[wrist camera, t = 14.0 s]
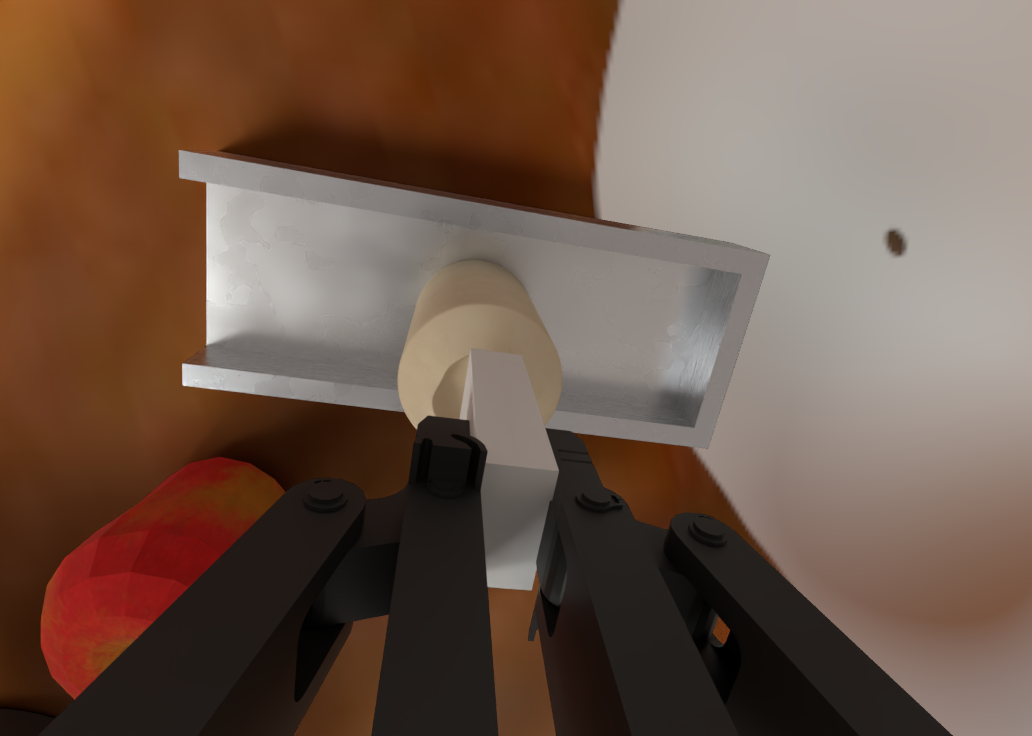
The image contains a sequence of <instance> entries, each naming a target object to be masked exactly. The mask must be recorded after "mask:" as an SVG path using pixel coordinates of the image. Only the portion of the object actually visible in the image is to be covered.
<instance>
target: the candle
mask: <svg viewBox="0 0 1032 736" xmlns="http://www.w3.org/2000/svg"><path fill="white" fill-rule="evenodd" d="M471 348H475V349H482V350H489V351H496V352H503V353H510V354H518V355H522V357H523V360H524V363H525V367H526V370H527V373H528V376H529V379H530V382H531V385H532V388H533V391H534V395H535V398H536V401H537V404H538V407H539V410H540V413H541V416H542V420H543V423H544V426H545V425H546V424H547V423H548V421H549V420H550V418H551V417H552V415H553V413H554V411H555V410H556V407H557V404H558V402H559V399H560V395H561V391H562V381H563V380H562V367H561V361H560V358H559V355H558V352H557V350H556V348H555V346H554V344H553V342H552V340H551V338H550V336H549V334H548V332H547V330H546V328H545V326H544V324H543V322H542V320H541V318H540V316H539V314H538V312H537V310H536V308H535V306H534V304H533V302H532V300H531V298H530V296H529V295H528V293H527V291H526V289H525V288H524V286H523V285H522V283H521V282H520V281H519V280H518V279H517V278H516V277H515V276H514V275H513V274H512V273H511V272H509V271H508V270H506V269H505V268H503V267H501V266H499V265H497V264H494V263H491V262H486V261H481V260H468V261H462V262H457V263H454V264H452V265H449V266H447V267H445V268H443V269H442V270H440V271H439V272H438V273H436V274H435V275H434V276H433V277H432V278H431V279H430V280H429V281H428V282H427V284H426V285H425V287H424V288H423V290H422V292H421V294H420V296H419V298H418V301H417V304H416V307H415V311H414V314H413V318H412V321H411V325H410V328H409V332H408V335H407V339H406V342H405V346H404V349H403V353H402V356H401V360H400V364H399V369H398V393H399V398H400V401H401V405H402V407H403V409H404V412H405V414H406V416H407V417H408V419H409V420H410V422H411V424H412V425H413V426H414V427H415V428H416V429H417V427H418V423H420V422H421V421H422V420H423V419H424V418H426V417H427V416H428V415H429V416H437V417H446V418H454V419H460V412H461V406H462V400H463V393H464V387H465V381H466V375H467V368H468V362H469V356H470V349H471Z"/></svg>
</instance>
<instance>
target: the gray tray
mask: <svg viewBox="0 0 1032 736" xmlns="http://www.w3.org/2000/svg"><path fill="white" fill-rule="evenodd" d="M179 178H183V179H189V180H194V181H200V182H206V183H207V345H206V346H205V347H204V348H202V349H201V350H200V351H198V352H197V353H196V354H194V355H193V356H192V357H190V358H189V359H188V360H186V361H185V362H184V363H182V382H183V386H192V387H200V388H208V389H217V390H225V391H233V392H241V393H250V394H258V395H266V396H275V397H283V398H291V399H300V400H308V401H316V402H324V403H333V404H341V405H349V406H358V407H366V408H374V409H382V410H391V411H399V412H404V409H403V407H402V405H401V401H400V398H399V393H398V369H399V364H400V360H401V356H402V353H403V349H404V346H405V342H406V339H407V335H408V332H409V328H410V325H411V321H412V318H413V314H414V311H415V307H416V304H417V301H418V298H419V296H420V294H421V292H422V290H423V288H424V287H425V285H426V284H427V282H428V281H429V280H430V279H431V278H432V277H433V276H434V275H435V274H436V273H438V272H439V271H440V270H442V269H443V268H445V267H447V266H449V265H452V264H454V263H457V262H462V261H468V260H481V261H486V262H491V263H494V264H497V265H499V266H501V267H503V268H505V269H506V270H508V271H509V272H511V273H512V274H513V275H514V276H515V277H516V278H517V279H518V280H519V281H520V282H521V283H522V285H523V286H524V288H525V289H526V291H527V293H528V295H529V296H530V298H531V300H532V302H533V304H534V306H535V308H536V310H537V312H538V314H539V316H540V318H541V320H542V322H543V324H544V326H545V328H546V330H547V332H548V334H549V336H550V338H551V340H552V342H553V344H554V346H555V348H556V350H557V352H558V355H559V358H560V361H561V367H562V380H563V381H562V391H561V395H560V399H559V402H558V404H557V407H556V410H555V411H554V413H553V415H552V417H551V418H550V420H549V421H548V423H547V424H546V425H545V428H550V429H558V430H566V431H572V432H573V433H582V434H590V435H598V436H606V437H615V438H623V439H631V440H640V441H648V442H656V443H665V444H673V445H681V446H689V447H698V448H707V449H708V447H709V443H710V441H711V437H712V434H713V431H714V428H715V425H716V422H717V418H718V416H719V413H720V410H721V407H722V403H723V400H724V397H725V394H726V391H727V388H728V385H729V381H730V379H731V375H732V372H733V369H734V366H735V363H736V360H737V357H738V354H739V351H740V348H741V344H742V341H743V338H744V335H745V332H746V329H747V326H748V323H749V320H750V317H751V313H752V310H753V307H754V304H755V301H756V298H757V295H758V292H759V289H760V286H761V282H762V279H763V276H764V273H765V270H766V267H767V264H768V260H769V257H770V255H769V254H766V253H762V252H759V251H756V250H753V249H749V248H747V247H743V246H740V245H736V244H734V243H729V242H724V241H718V240H713V239H707V238H702V237H695V236H690V235H684V234H679V233H674V232H668V231H662V230H657V229H651V228H645V227H640V226H634V225H629V224H623V223H618V222H612V221H606V220H601V219H595V218H590V217H584V216H579V215H573V214H568V213H562V212H556V211H551V210H545V209H540V208H534V207H528V206H523V205H517V204H512V203H506V202H501V201H495V200H489V199H484V198H478V197H473V196H467V195H461V194H456V193H450V192H445V191H439V190H434V189H428V188H422V187H417V186H411V185H406V184H400V183H394V182H389V181H383V180H378V179H372V178H367V177H361V176H355V175H350V174H344V173H339V172H333V171H327V170H322V169H316V168H311V167H305V166H300V165H294V164H288V163H283V162H277V161H272V160H266V159H260V158H255V157H249V156H244V155H238V154H233V153H227V152H221V151H202V150H179Z"/></svg>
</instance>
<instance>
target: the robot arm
mask: <svg viewBox="0 0 1032 736" xmlns="http://www.w3.org/2000/svg"><path fill="white" fill-rule="evenodd" d="M536 569H537V571H538V576H539V582H540V586H539V590H538V595H537V599H536V603H535V607H534V612H533V616H532V620H531V624H530V629H529V635H528V641H534V637H535V633H536V630H537V629H539V635H540V641H541V647H542V653H543V659H544V665H545V671H546V677H547V683H548V689H549V695H550V701H551V707H552V713H553V719H554V725H555V731H556V736H953V735H951V734H950V733H949V732H948V731H947V730H946V729H945V728H944V727H943V726H942V725H941V724H940V723H938V721H936V720H935V719H934V718H933V717H932V716H931V715H930V714H929V713H928V712H927V711H926V710H925V709H924V708H923V707H922V706H921V705H919V704H918V703H917V702H916V701H915V700H914V699H913V698H912V697H911V696H910V695H909V694H908V693H907V692H906V691H905V690H903V689H902V688H901V687H900V686H899V685H898V684H897V683H896V682H895V681H894V680H893V679H892V678H891V677H890V676H889V675H887V674H886V673H885V672H884V671H883V670H882V669H881V668H880V667H879V666H878V665H877V664H876V663H875V662H874V661H873V660H871V659H870V658H869V657H868V656H867V655H866V654H865V653H864V652H863V651H862V650H861V649H860V648H859V647H857V645H855V643H853V642H852V641H851V640H850V639H849V638H848V637H847V636H846V635H845V634H844V633H843V632H842V631H841V630H840V629H839V628H837V627H836V626H835V625H834V624H833V623H832V622H831V621H830V620H829V619H828V618H827V617H825V615H823V613H822V612H820V611H819V610H818V609H817V608H816V607H815V606H814V605H813V604H812V603H811V602H810V601H809V600H807V598H806V597H804V596H803V595H802V594H801V593H800V592H799V591H798V590H797V589H796V588H795V587H794V586H793V585H792V584H791V583H790V582H788V581H787V580H786V579H785V578H784V577H783V576H782V575H781V574H780V573H779V572H778V571H777V570H776V569H775V568H774V567H772V566H771V565H770V564H769V563H768V562H767V561H766V560H765V559H764V558H763V557H762V556H761V555H760V554H759V553H758V552H757V551H755V550H754V549H753V548H752V547H751V546H750V545H749V544H748V543H747V542H746V541H745V540H744V539H743V538H742V537H741V536H739V535H738V534H737V533H736V532H735V531H734V530H732V529H731V528H730V527H728V526H727V525H726V524H724V523H722V522H720V521H718V520H716V519H715V518H713V517H711V516H708V515H706V516H705V514H700V513H682V514H677V515H676V516H675V517H674V518H673V519H672V520H671V523H670V526H669V529H668V530H666V529H662V528H659V527H656V526H652V525H649V524H645V523H643V522H640V521H637V520H635V519H634V517H633V515H632V512H631V510H630V508H629V506H628V505H627V503H626V502H625V501H624V500H623V498H622V497H620V496H619V495H617V494H616V493H615V492H613V491H611V490H609V489H606V488H604V487H603V485H602V483H601V481H600V479H599V476H598V474H597V472H596V469H595V467H594V465H593V464H592V460H591V458H590V456H589V455H588V451H587V449H586V447H585V444H584V442H583V441H582V440H581V439H580V438H578V437H577V436H576V435H575V434H574V433H573V432H572V431H566V430H558V429H550V428H545V426H544V423H543V420H542V416H541V413H540V410H539V407H538V404H537V401H536V398H535V395H534V391H533V388H532V385H531V382H530V379H529V376H528V373H527V370H526V367H525V363H524V360H523V357H522V355H518V354H510V353H503V352H496V351H489V350H482V349H475V348H471V349H470V356H469V362H468V368H467V375H466V381H465V387H464V393H463V400H462V406H461V412H460V419H454V418H446V417H437V416H429V415H428V416H427V417H426V418H424V419H423V420H422V421H421V422H420V423H418V427H417V434H416V440H415V442H414V445H413V453H412V461H411V468H410V476H409V482H408V484H407V486H406V487H405V488H404V489H403V490H401V491H399V492H398V493H396V494H394V495H391V496H388V497H384V498H378V499H371V500H366V497H365V495H364V492H363V491H362V490H361V489H360V488H359V487H357V486H356V485H355V484H353V483H350V482H347V481H345V480H341V479H333V478H316V479H311V480H307V481H304V482H301V483H298V484H296V485H295V486H293V487H292V488H290V489H289V490H287V491H286V492H285V493H284V494H283V495H282V496H281V497H280V498H279V499H278V500H277V501H276V502H275V503H274V504H273V505H272V506H271V507H270V508H269V509H268V510H267V511H266V512H265V513H264V514H263V515H262V516H261V517H260V518H259V519H258V520H257V521H256V522H255V523H254V524H253V525H252V526H251V527H250V528H249V529H248V530H247V531H246V532H245V533H244V534H243V535H242V536H241V537H239V538H238V539H237V540H236V541H235V542H234V543H233V544H232V545H231V546H230V547H229V548H228V549H227V550H226V551H225V552H224V553H223V554H222V555H221V556H220V557H219V558H218V559H217V560H216V561H215V562H214V563H213V564H212V565H211V566H210V567H209V568H208V569H207V570H206V571H205V572H204V573H203V574H202V575H201V576H200V577H199V578H198V579H197V580H196V581H195V582H194V583H193V584H192V585H191V586H190V587H189V588H188V589H187V590H186V591H184V592H183V593H182V594H181V595H180V596H179V597H178V598H177V599H176V600H175V601H174V602H173V603H172V604H171V605H170V606H169V607H168V608H167V609H166V610H165V611H164V612H163V613H162V614H161V615H160V616H159V617H158V618H157V619H156V620H155V621H154V622H153V623H152V624H151V625H150V626H149V627H148V628H147V629H146V630H145V631H144V632H143V633H142V634H141V635H140V636H139V637H138V638H137V639H136V640H135V641H134V642H133V643H132V644H131V645H129V646H128V647H127V648H126V649H125V650H124V651H123V652H122V653H121V654H120V655H119V656H118V657H117V658H116V659H115V660H114V661H113V662H112V663H111V664H110V665H109V666H108V667H107V668H106V669H105V670H104V671H103V672H102V673H101V674H100V675H99V676H98V677H97V678H96V679H95V680H94V681H93V682H92V683H91V684H90V685H89V686H88V687H87V688H86V689H85V690H84V691H83V692H82V693H81V694H80V695H79V696H78V697H77V698H76V699H74V700H73V701H72V702H71V703H70V704H69V705H68V706H67V707H66V708H65V709H64V710H63V711H62V712H61V713H60V714H59V715H58V716H57V717H56V718H51V717H48V716H44V715H40V714H36V713H31V712H26V711H19V710H11V709H0V736H293V735H294V733H295V731H296V730H297V728H298V726H299V724H300V722H301V721H302V719H303V717H304V715H305V713H306V712H307V710H308V708H309V706H310V704H311V703H312V701H313V699H314V697H315V695H316V694H317V692H318V690H319V688H320V686H321V685H322V683H323V681H324V679H325V677H326V676H327V674H328V672H329V670H330V668H331V667H332V665H333V663H334V661H335V659H336V658H337V656H338V654H339V652H340V650H341V649H342V647H343V645H344V643H345V641H346V640H347V638H348V636H349V634H350V632H351V629H352V625H353V621H357V620H362V619H367V618H372V617H378V616H383V615H388V614H389V619H388V626H387V633H386V640H385V646H384V653H383V660H382V667H381V674H380V680H379V687H378V694H377V701H376V708H375V714H374V721H373V728H372V735H371V736H498V725H497V711H496V697H495V683H494V670H493V656H492V642H491V628H490V614H489V600H488V587H494V588H507V589H520V590H532V587H533V582H534V578H535V573H536ZM718 617H720V618H721V619H722V621H723V622H724V623H725V624H726V625H727V627H728V628H729V629H730V633H729V635H728V638H727V641H726V643H725V644H724V645H723V644H722V643H721V642H720V641H719V640H718V639H717V638H716V637H715V635H714V634H713V630H714V627H715V625H716V622H717V619H718Z"/></svg>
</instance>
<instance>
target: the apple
mask: <svg viewBox="0 0 1032 736" xmlns="http://www.w3.org/2000/svg"><path fill="white" fill-rule="evenodd" d="M284 493H285V491H284V489H283V488H282V487H281V486H280V485H279V484H278V482H277V481H276V480H275V479H274V478H272V477H271V476H269V475H267V474H266V473H264V472H263V471H261V470H260V469H258V468H257V467H255V466H254V465H252V464H250V463H246V462H242V461H237V460H233V459H228V458H224V457H216V458H211V459H206V460H201V461H197V462H192V463H189V464H188V465H186V466H185V467H183V468H182V469H180V470H179V471H177V472H175V473H174V474H172V475H171V476H169V477H168V478H167V479H166V480H164V481H163V482H162V483H161V484H160V485H159V486H158V487H157V488H155V489H154V490H153V491H152V492H151V493H150V494H149V495H147V496H146V497H145V498H144V499H143V500H142V501H141V502H140V503H138V504H137V505H135V506H134V507H132V508H131V509H129V510H128V511H126V512H125V513H123V514H122V515H120V516H119V517H117V518H116V519H114V520H113V521H111V522H110V523H108V524H107V525H105V526H104V527H102V528H101V529H99V530H98V531H96V532H95V533H94V534H92V535H91V536H90V537H89V538H88V539H87V540H85V541H84V542H83V543H82V544H81V545H79V546H78V547H77V548H76V549H75V550H73V551H72V552H71V553H70V554H69V555H67V556H66V557H65V558H64V559H63V561H62V562H61V564H60V566H59V567H58V569H57V570H56V572H55V573H54V575H53V577H52V578H51V580H50V581H49V583H48V584H47V587H46V593H45V599H44V604H43V610H42V616H41V649H42V652H43V654H44V657H45V660H46V663H47V665H48V668H49V671H50V674H51V676H52V677H53V679H54V680H55V681H56V682H57V683H58V684H59V685H60V686H61V687H62V688H63V689H64V690H65V691H66V692H67V693H68V694H69V695H70V696H71V697H72V698H73V699H76V698H77V697H78V696H79V695H80V694H81V693H82V692H83V691H84V690H85V689H86V688H87V687H88V686H89V685H90V684H91V683H92V682H93V681H94V680H95V679H96V678H97V677H98V676H99V675H100V674H101V673H102V672H103V671H104V670H105V669H106V668H107V667H108V666H109V665H110V664H111V663H112V662H113V661H114V660H115V659H116V658H117V657H118V656H119V655H120V654H121V653H122V652H123V651H124V650H125V649H126V648H127V647H128V646H129V645H131V644H132V643H133V642H134V641H135V640H136V639H137V638H138V637H139V636H140V635H141V634H142V633H143V632H144V631H145V630H146V629H147V628H148V627H149V626H150V625H151V624H152V623H153V622H154V621H155V620H156V619H157V618H158V617H159V616H160V615H161V614H162V613H163V612H164V611H165V610H166V609H167V608H168V607H169V606H170V605H171V604H172V603H173V602H174V601H175V600H176V599H177V598H178V597H179V596H180V595H181V594H182V593H183V592H184V591H186V590H187V589H188V588H189V587H190V586H191V585H192V584H193V583H194V582H195V581H196V580H197V579H198V578H199V577H200V576H201V575H202V574H203V573H204V572H205V571H206V570H207V569H208V568H209V567H210V566H211V565H212V564H213V563H214V562H215V561H216V560H217V559H218V558H219V557H220V556H221V555H222V554H223V553H224V552H225V551H226V550H227V549H228V548H229V547H230V546H231V545H232V544H233V543H234V542H235V541H236V540H237V539H238V538H239V537H241V536H242V535H243V534H244V533H245V532H246V531H247V530H248V529H249V528H250V527H251V526H252V525H253V524H254V523H255V522H256V521H257V520H258V519H259V518H260V517H261V516H262V515H263V514H264V513H265V512H266V511H267V510H268V509H269V508H270V507H271V506H272V505H273V504H274V503H275V502H276V501H277V500H278V499H279V498H280V497H281V496H282V495H283V494H284Z"/></svg>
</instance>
